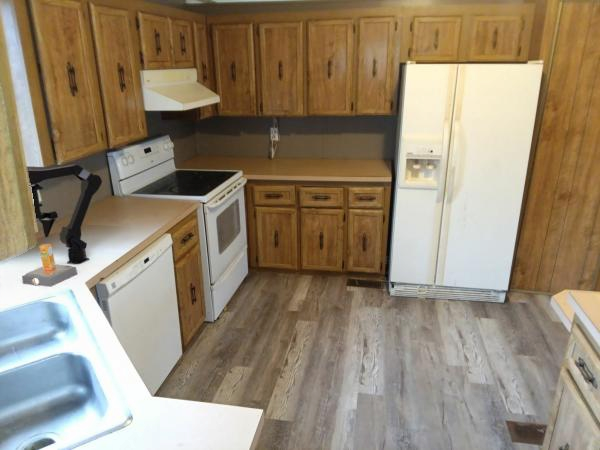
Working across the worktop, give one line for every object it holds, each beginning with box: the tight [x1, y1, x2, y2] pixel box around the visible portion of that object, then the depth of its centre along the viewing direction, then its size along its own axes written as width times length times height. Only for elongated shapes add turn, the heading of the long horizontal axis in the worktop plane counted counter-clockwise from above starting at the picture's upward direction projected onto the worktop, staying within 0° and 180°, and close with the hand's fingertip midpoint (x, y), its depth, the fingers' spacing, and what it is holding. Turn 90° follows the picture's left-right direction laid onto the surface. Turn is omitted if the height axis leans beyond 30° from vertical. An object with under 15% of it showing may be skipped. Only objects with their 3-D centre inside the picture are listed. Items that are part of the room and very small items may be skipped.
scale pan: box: [25, 263, 73, 278], centre depth 172 cm, size 11×11×1 cm
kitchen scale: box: [21, 266, 78, 288], centre depth 172 cm, size 14×13×3 cm
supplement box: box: [38, 243, 56, 271], centre depth 171 cm, size 3×3×10 cm
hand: (37, 240), depth 179 cm, fingers open, 9 cm apart
